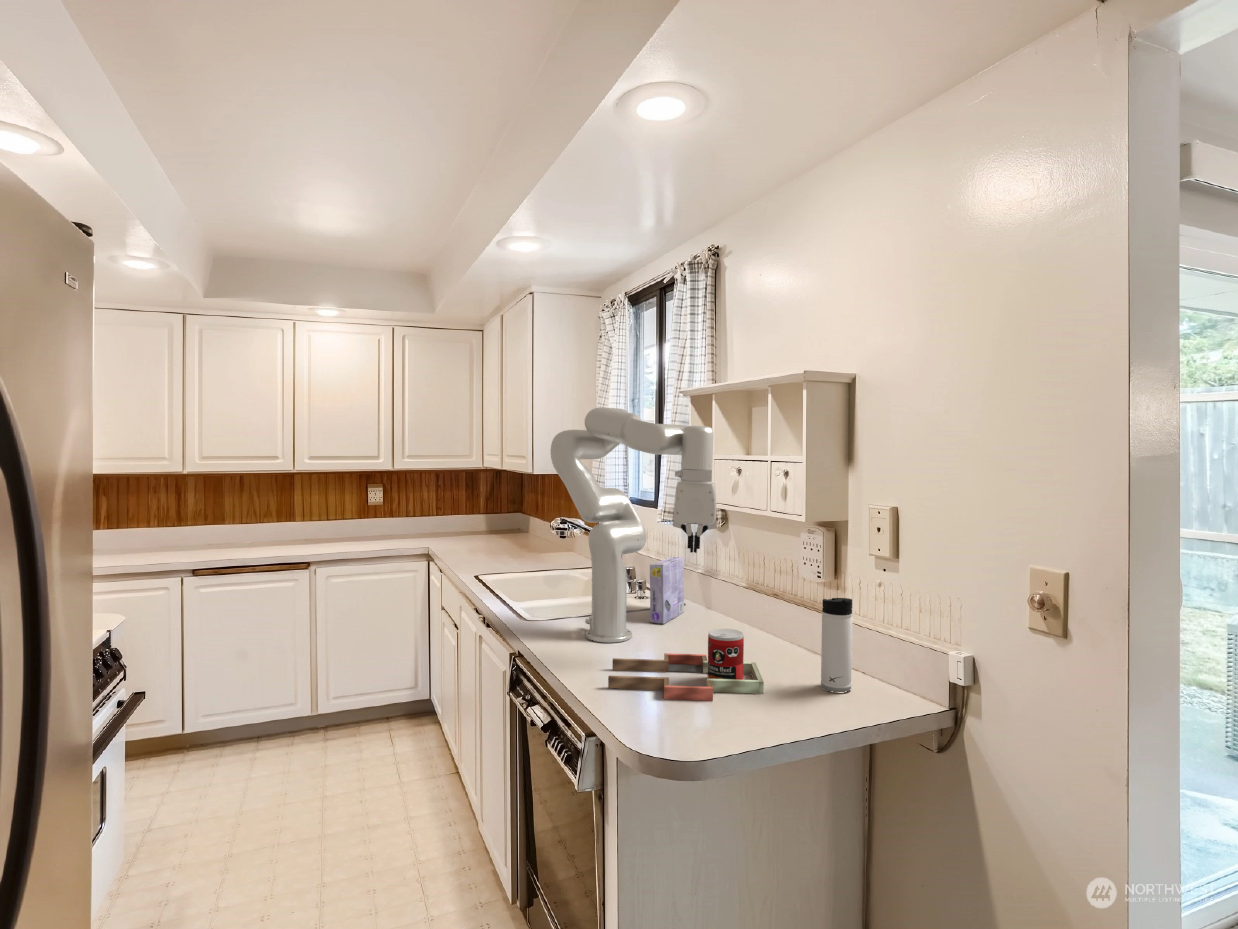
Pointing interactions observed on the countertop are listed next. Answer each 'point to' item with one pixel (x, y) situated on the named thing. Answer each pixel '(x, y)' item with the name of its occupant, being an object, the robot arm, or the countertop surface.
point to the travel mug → (836, 644)
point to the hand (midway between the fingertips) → (693, 551)
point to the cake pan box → (666, 589)
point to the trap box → (686, 665)
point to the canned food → (725, 654)
